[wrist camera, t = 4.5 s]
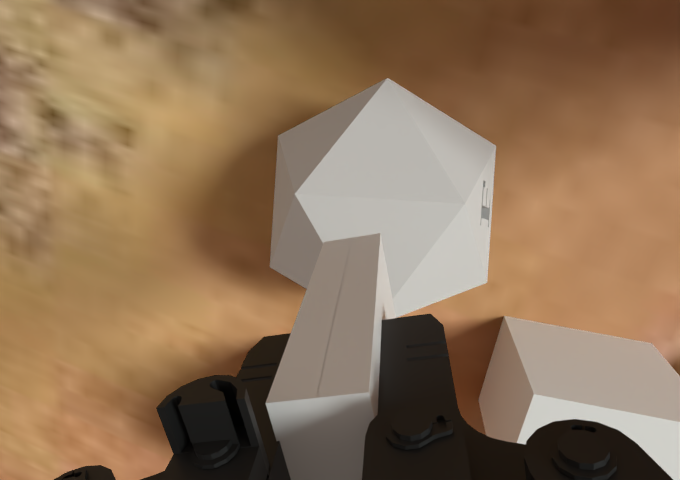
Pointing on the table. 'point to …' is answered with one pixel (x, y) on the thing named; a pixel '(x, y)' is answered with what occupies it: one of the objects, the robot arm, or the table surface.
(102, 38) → the table surface
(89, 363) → the table surface
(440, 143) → the die
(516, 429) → the grey block
